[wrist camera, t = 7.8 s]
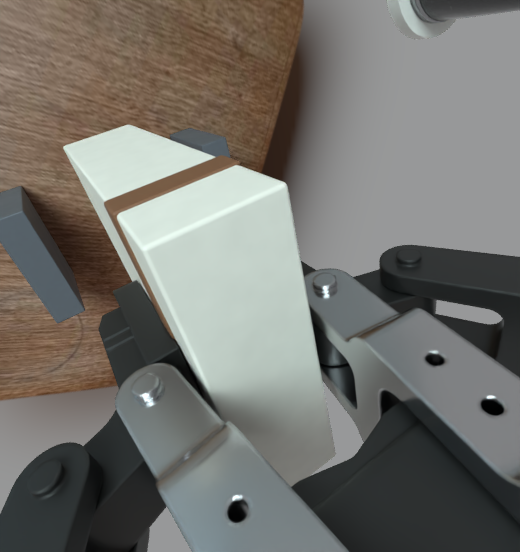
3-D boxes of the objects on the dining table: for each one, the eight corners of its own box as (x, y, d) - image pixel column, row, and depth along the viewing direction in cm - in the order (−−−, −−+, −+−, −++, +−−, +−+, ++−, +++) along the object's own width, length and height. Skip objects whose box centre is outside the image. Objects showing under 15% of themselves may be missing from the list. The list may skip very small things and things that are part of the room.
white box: (130, 122, 13) (290, 177, 6) (199, 295, 18) (338, 455, 10) (60, 145, 12) (136, 246, 5) (151, 320, 17) (263, 514, 9)
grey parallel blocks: (190, 127, 32) (225, 136, 27) (215, 210, 36) (249, 232, 31) (-8, 195, 27) (-14, 223, 21) (49, 282, 31) (57, 324, 26)
